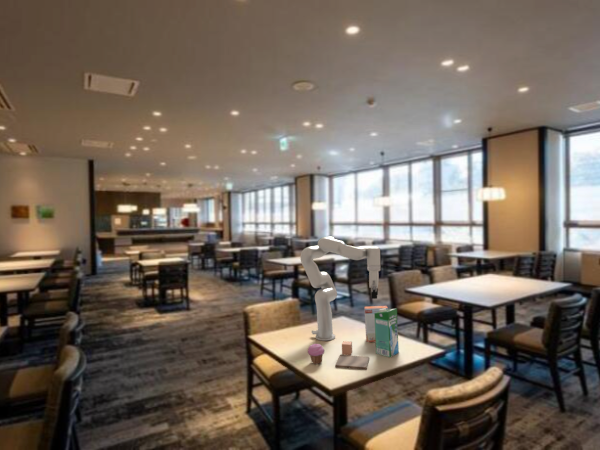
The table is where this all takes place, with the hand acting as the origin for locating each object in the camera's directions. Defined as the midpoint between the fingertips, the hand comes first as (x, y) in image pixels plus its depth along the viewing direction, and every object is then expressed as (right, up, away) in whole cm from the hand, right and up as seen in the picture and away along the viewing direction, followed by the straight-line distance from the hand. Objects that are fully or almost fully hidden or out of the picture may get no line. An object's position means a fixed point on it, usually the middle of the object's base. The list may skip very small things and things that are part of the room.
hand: (374, 296), depth 212 cm
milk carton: (+5, -30, -11) cm, 32 cm away
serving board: (-16, -31, -22) cm, 41 cm away
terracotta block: (-17, -31, -8) cm, 36 cm away
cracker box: (+4, -29, +10) cm, 31 cm away
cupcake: (-35, -32, -20) cm, 51 cm away
